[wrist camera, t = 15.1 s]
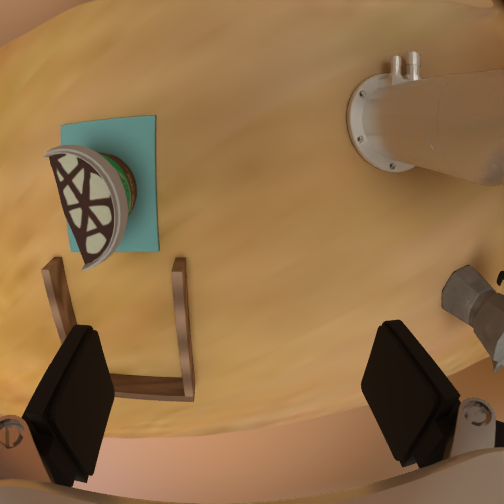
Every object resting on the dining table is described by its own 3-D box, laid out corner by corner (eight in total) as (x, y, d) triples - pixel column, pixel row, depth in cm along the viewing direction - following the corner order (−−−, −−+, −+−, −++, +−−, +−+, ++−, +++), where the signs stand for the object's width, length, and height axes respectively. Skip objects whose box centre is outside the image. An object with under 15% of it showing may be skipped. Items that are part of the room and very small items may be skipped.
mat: (63, 125, 31) (60, 125, 30) (156, 115, 32) (155, 115, 31) (73, 250, 36) (71, 252, 36) (159, 250, 38) (158, 252, 37)
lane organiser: (54, 257, 37) (41, 269, 33) (185, 257, 38) (182, 271, 35) (87, 376, 44) (80, 392, 41) (195, 383, 46) (194, 401, 42)
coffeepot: (464, 320, 48) (522, 378, 31) (429, 324, 47) (488, 392, 30) (491, 242, 42) (565, 288, 26) (456, 238, 41) (538, 291, 25)
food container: (160, 227, 36) (140, 260, 27) (114, 240, 36) (83, 276, 27) (131, 125, 31) (98, 124, 22) (84, 143, 31) (41, 150, 22)
